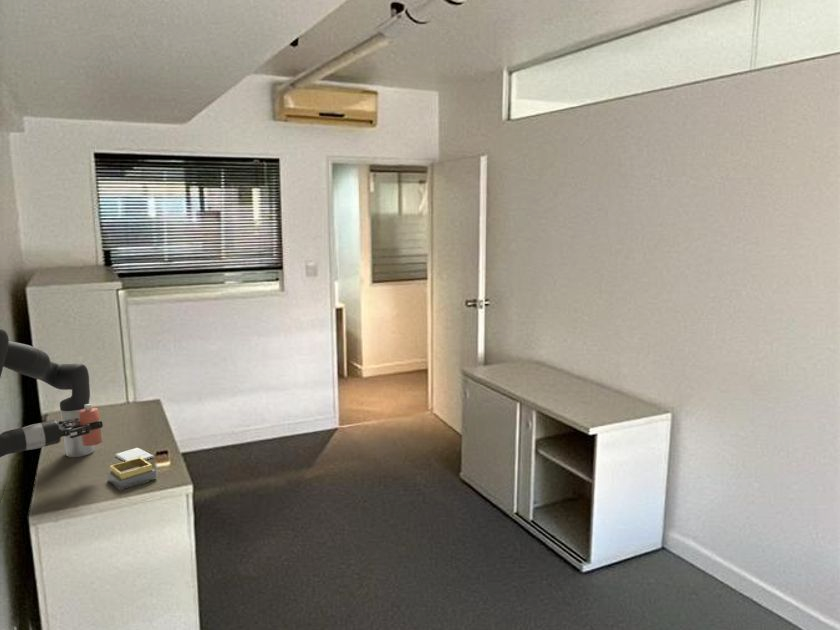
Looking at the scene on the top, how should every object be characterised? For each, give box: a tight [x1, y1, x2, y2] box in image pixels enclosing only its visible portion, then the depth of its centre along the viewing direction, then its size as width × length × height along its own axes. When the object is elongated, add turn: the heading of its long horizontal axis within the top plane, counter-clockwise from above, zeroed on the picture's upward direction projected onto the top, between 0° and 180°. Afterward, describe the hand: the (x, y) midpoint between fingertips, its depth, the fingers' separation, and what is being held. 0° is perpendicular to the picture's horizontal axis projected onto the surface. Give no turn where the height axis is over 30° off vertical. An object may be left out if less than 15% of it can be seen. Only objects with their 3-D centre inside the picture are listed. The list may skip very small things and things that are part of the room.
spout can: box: [79, 403, 103, 446], centre depth 199 cm, size 6×6×13 cm
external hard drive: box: [115, 447, 155, 462], centre depth 217 cm, size 2×8×12 cm
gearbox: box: [107, 457, 157, 491], centre depth 197 cm, size 11×11×5 cm
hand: (98, 421), depth 201 cm, fingers closed on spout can, 5 cm apart
